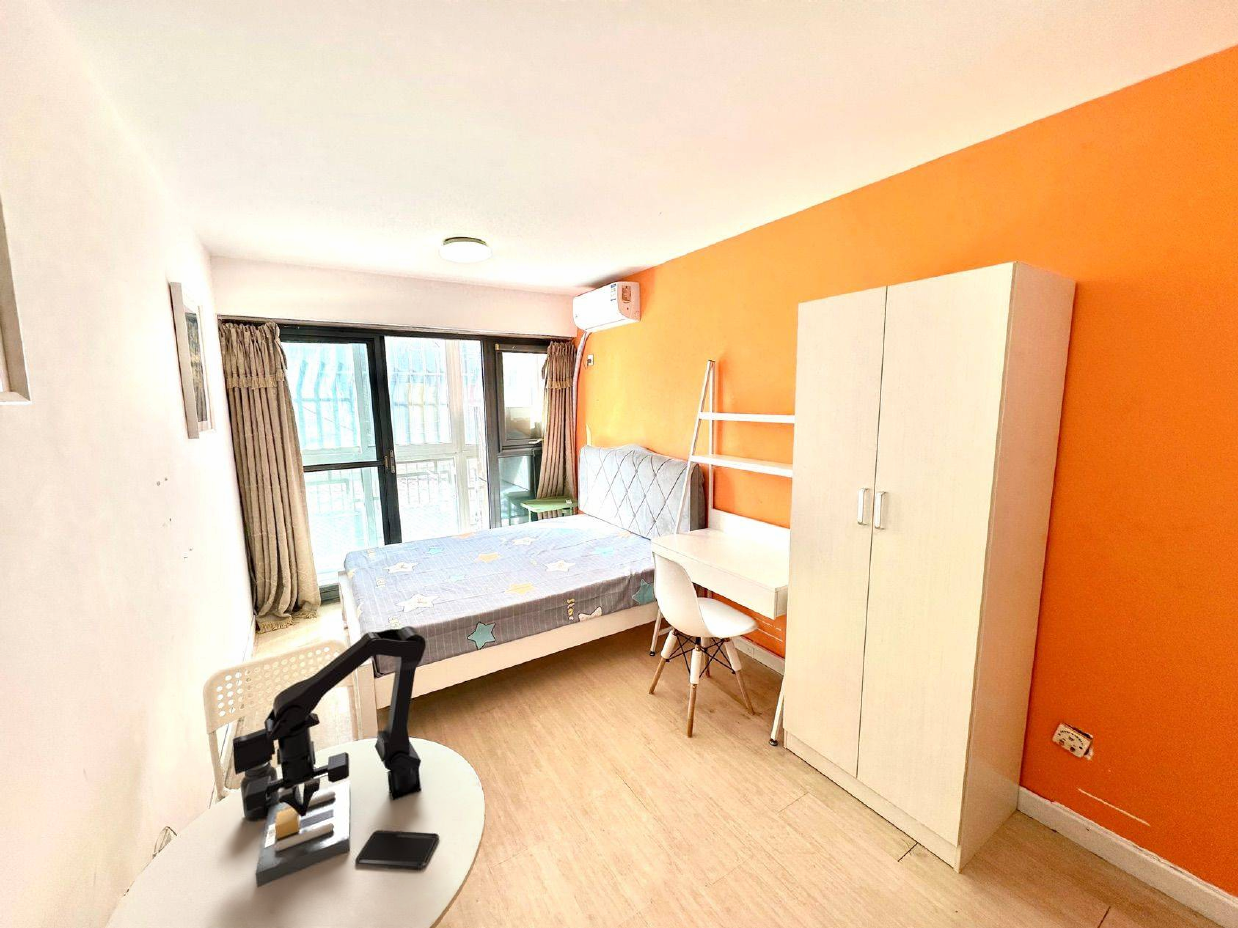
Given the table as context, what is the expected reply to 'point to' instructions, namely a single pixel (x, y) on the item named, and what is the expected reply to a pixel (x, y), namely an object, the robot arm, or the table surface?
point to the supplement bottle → (272, 798)
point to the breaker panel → (311, 850)
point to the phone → (397, 850)
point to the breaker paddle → (287, 822)
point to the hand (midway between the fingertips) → (303, 814)
